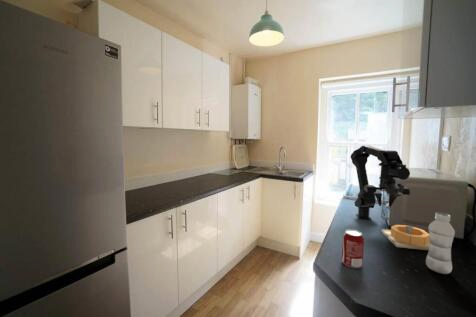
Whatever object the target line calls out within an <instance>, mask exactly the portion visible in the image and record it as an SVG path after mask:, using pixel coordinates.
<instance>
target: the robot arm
mask: <svg viewBox="0 0 476 317" xmlns="http://www.w3.org/2000/svg"><path fill="white" fill-rule="evenodd" d="M370 155H371V156H373V157H375V158H376V159H377V160H378V161H380V163H378V164H377V165H378V166H379V167H380V176H379V178H378V179H379V184H378V186H375V185H374V184H373V185H372V184H369V179H368V173H367V168H366V165H367V163H368V159H369V157H370ZM350 159H351V164H353V166H354V167H355V169H356V174H357V180H358V181H357V182H358V186H359V192H358V193H357V198H356V200H354V206H355V207H357V208H358V209H357V213H356V214H355V216H356V215H357V216H358V217H357V216H356V217H357V218H358V219H360V218H362V220H372V217H370V210H371V209H374V208H375V206H376V202H377V204H378V206H379V207H382V195H383V193H382V192H386V194H389V196H388V207H389V208H391V207H392V206H393V204H394V202H395V200H396V199H397V198H398V197H402V195H404V196H406V195H408V196H410V195H411V189H409V188H408V187H406V186H405V185H404V184H403V183H396V179H398V180H402V181H404V180H407V179H409V177H410V176H411V172H410V170H409V168H408V167H407V164H404V163H403V161H402V159H401V157H400V154H399V152H398V151H397V150H385V149H381V148H378V147H375V146H372V145H365V144H364V145H361V146H360V147H359V148H357V149H355V150H354V151H353V152H352V153H351V154H350ZM376 200H377V201H376Z"/></svg>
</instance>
